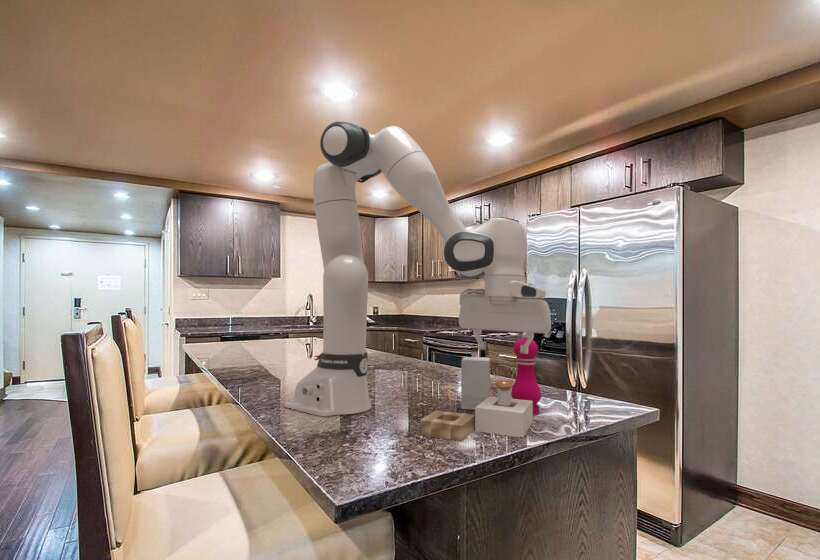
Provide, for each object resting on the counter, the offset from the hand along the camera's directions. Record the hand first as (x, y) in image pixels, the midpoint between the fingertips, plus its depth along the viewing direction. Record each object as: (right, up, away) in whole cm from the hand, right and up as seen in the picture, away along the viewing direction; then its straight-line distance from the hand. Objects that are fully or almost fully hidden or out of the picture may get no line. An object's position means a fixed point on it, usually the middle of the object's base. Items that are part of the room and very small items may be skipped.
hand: (502, 351), depth 95 cm
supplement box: (-3, -18, +17) cm, 25 cm away
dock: (0, -17, -1) cm, 17 cm away
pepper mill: (+8, -17, +12) cm, 23 cm away
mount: (-13, -16, -5) cm, 21 cm away
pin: (0, -17, -1) cm, 17 cm away
